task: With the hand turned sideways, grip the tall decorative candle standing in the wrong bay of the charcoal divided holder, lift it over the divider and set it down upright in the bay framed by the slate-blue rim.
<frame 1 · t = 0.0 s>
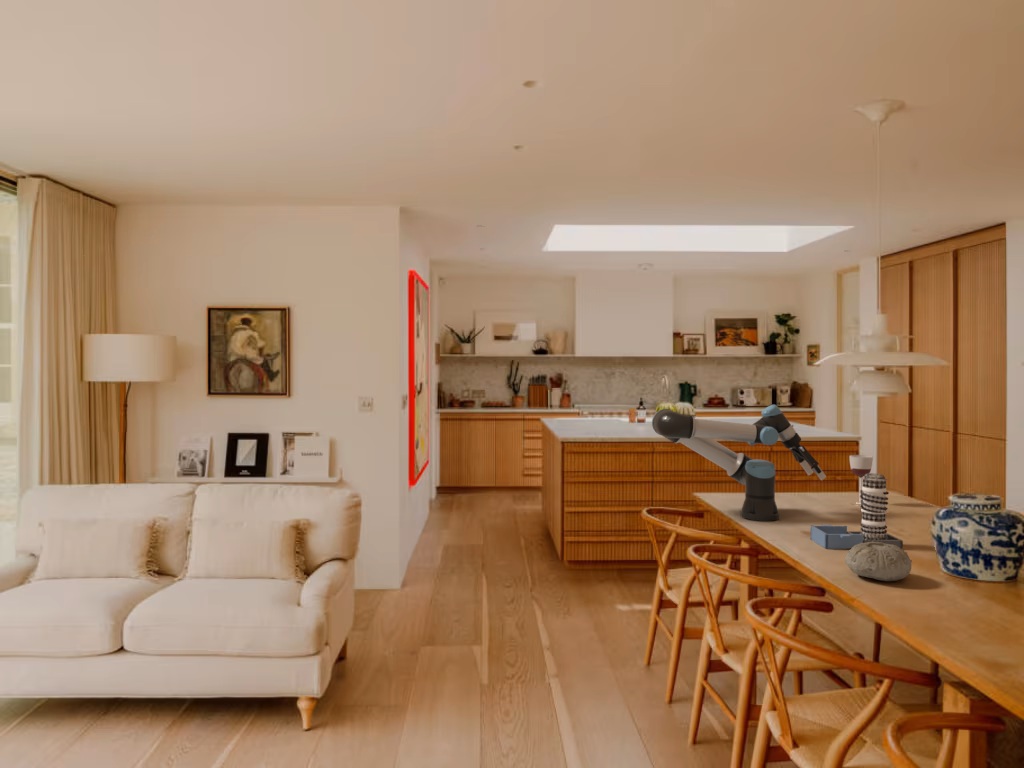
hand: (817, 476, 314), 15 cm above the table, tool tilted 35°, fingers open, 13 cm apart
charcoal holder: (855, 544, 257), on the table
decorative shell: (877, 578, 218), on the table
wineglass: (860, 504, 330), on the table
blue rim: (855, 544, 257), on the table
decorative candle: (873, 544, 257), on the table
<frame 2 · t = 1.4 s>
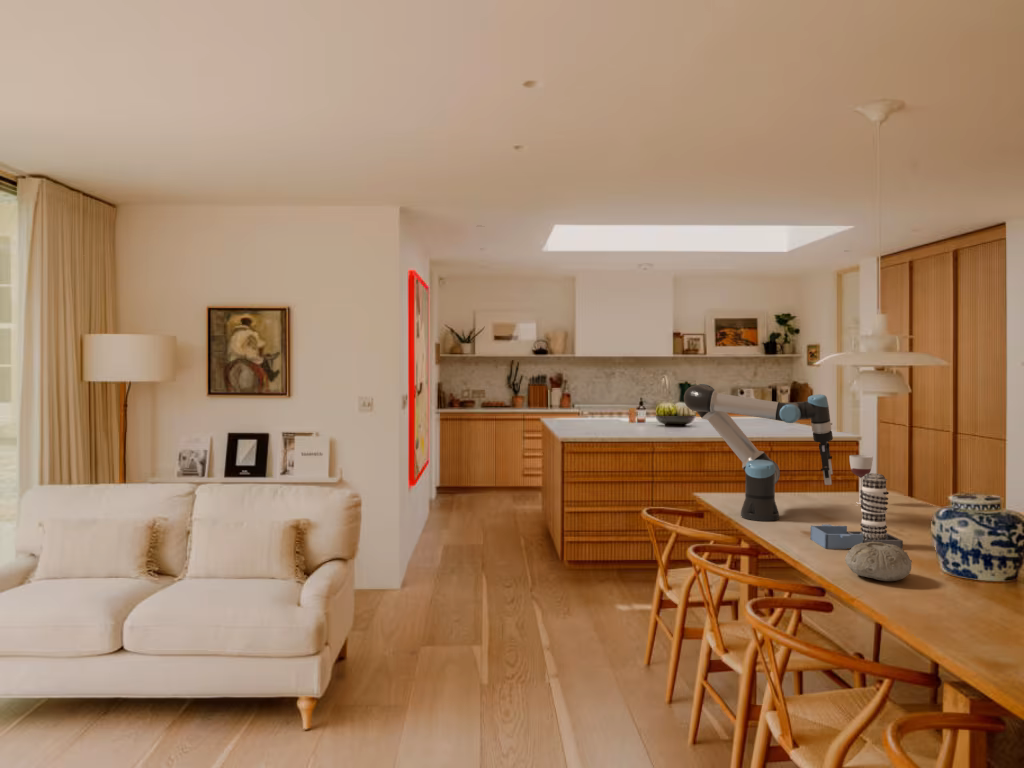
hand: (828, 479, 307), 15 cm above the table, tool pointing down, fingers open, 13 cm apart
nothing on the table moved.
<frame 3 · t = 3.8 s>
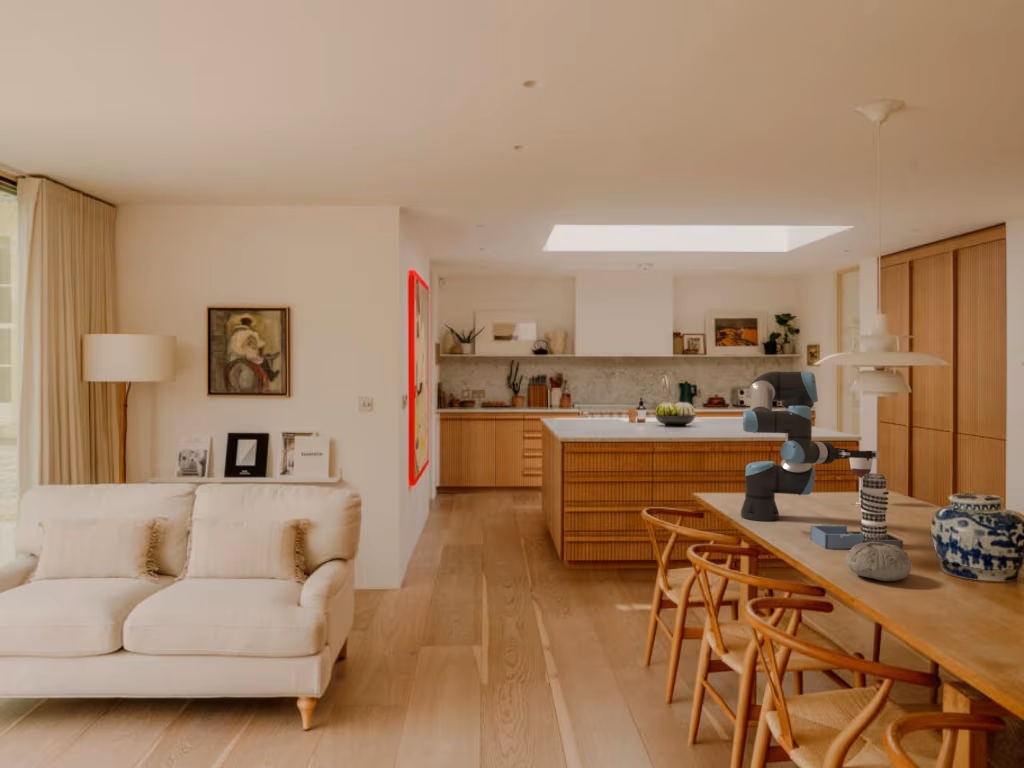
hand: (861, 454, 258), 32 cm above the table, tool horizontal, fingers open, 13 cm apart
nothing on the table moved.
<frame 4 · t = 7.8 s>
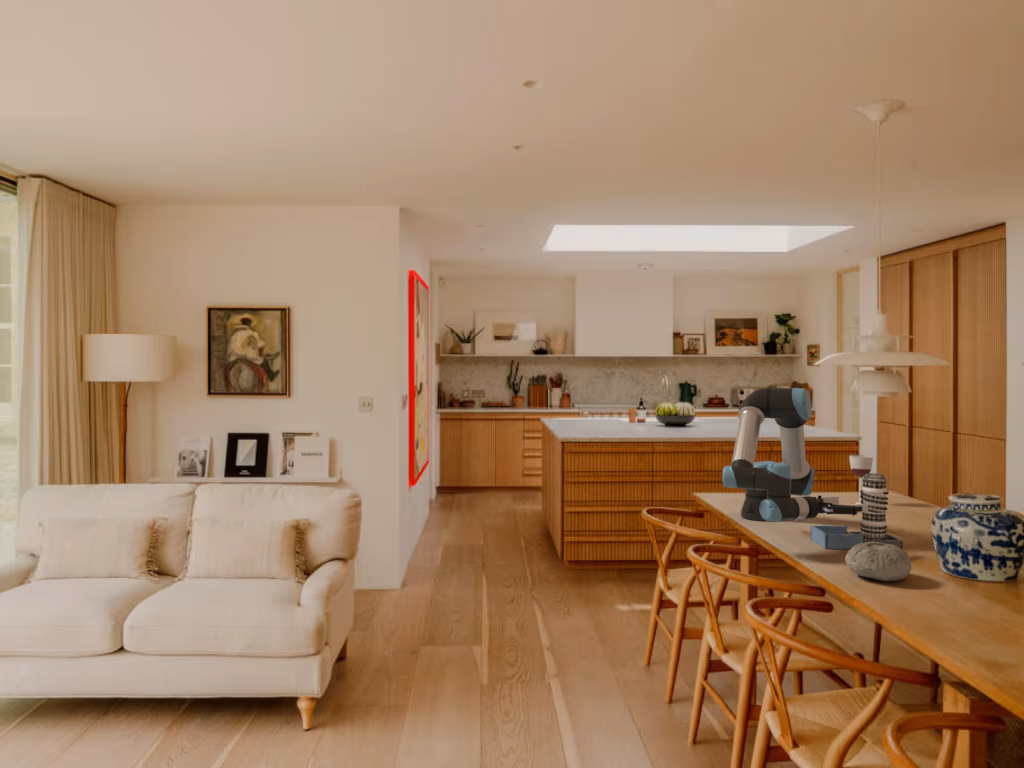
hand: (852, 504, 254), 15 cm above the table, tool horizontal, fingers open, 13 cm apart
nothing on the table moved.
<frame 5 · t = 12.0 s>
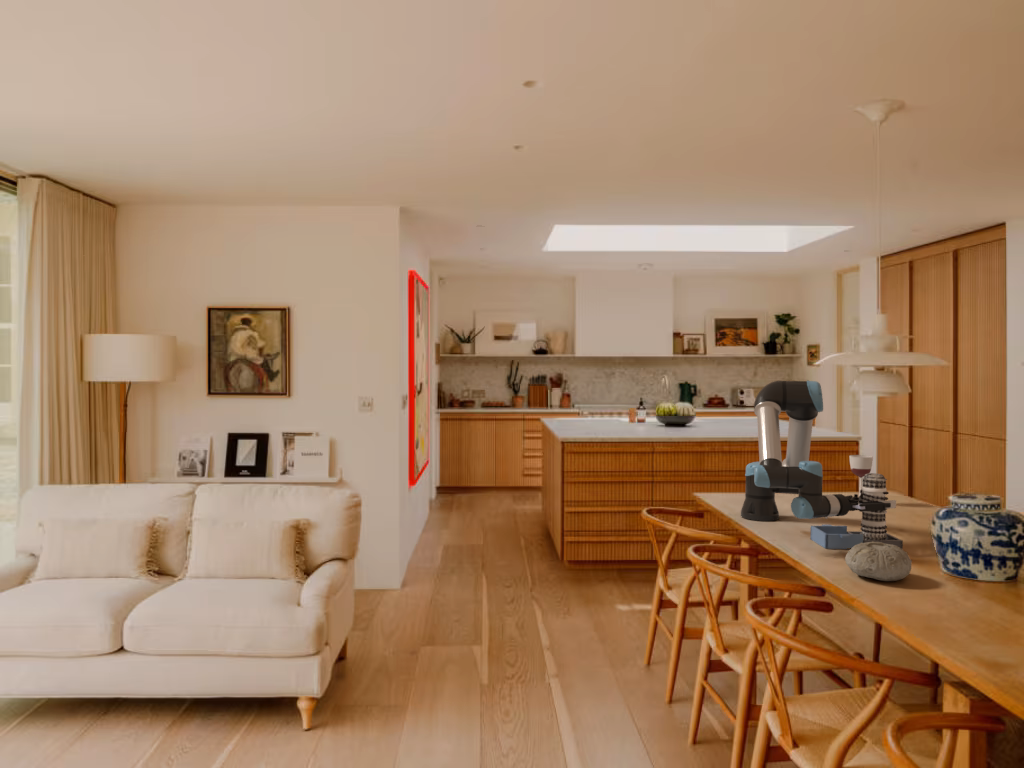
hand: (884, 501, 258), 15 cm above the table, tool horizontal, fingers closed on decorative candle, 9 cm apart
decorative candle: (873, 544, 257), on the table, touching gripper
everything else where it was.
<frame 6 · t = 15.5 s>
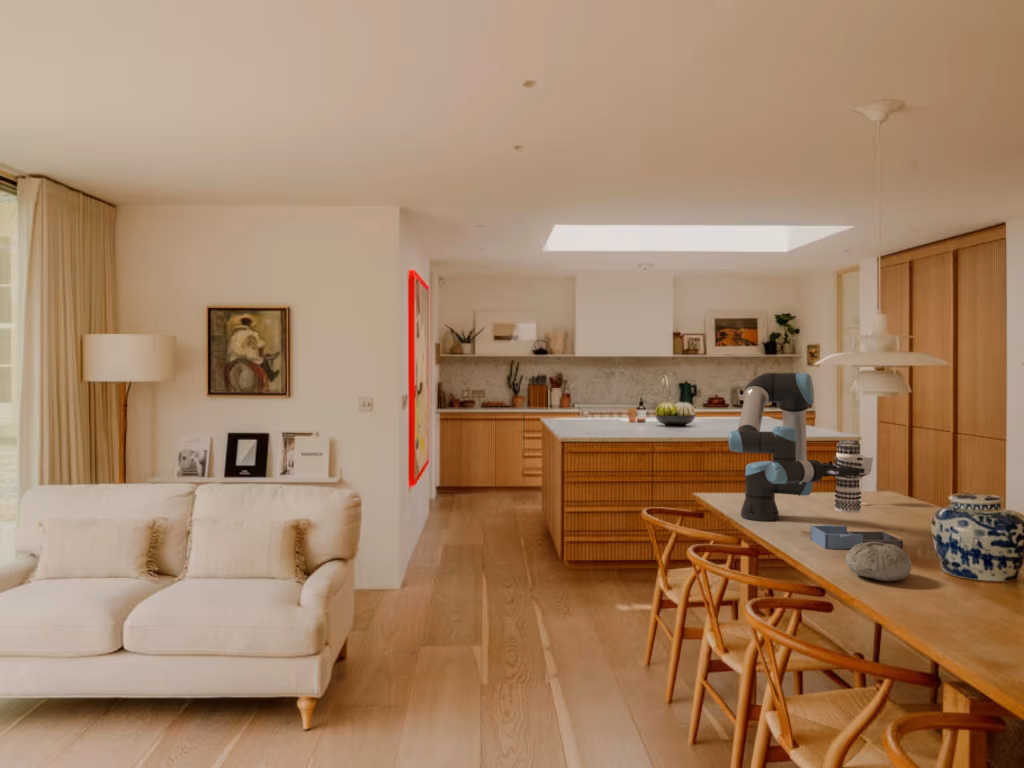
hand: (858, 468, 258), 27 cm above the table, tool horizontal, fingers closed on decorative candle, 9 cm apart
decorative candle: (847, 511, 257), point 12 cm above the table, touching gripper
everything else where it was.
when the fingers open (16 cm above the table, at t = 19.4 s): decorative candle drops 1 cm, on the table.
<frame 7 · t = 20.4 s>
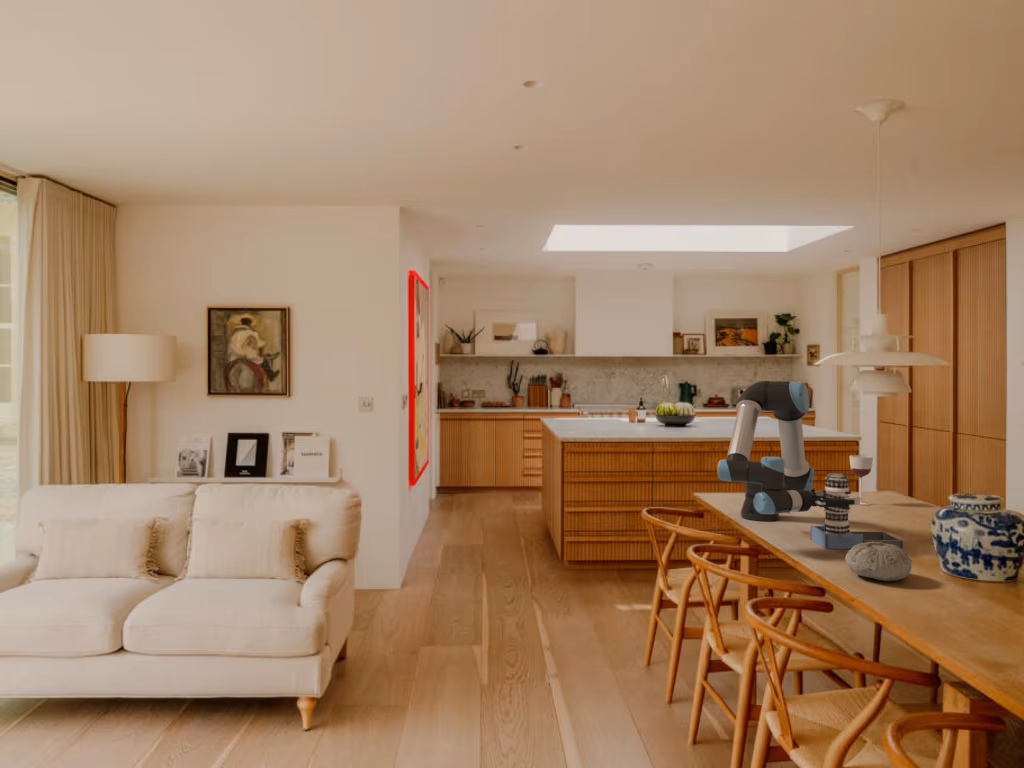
hand: (844, 497, 258), 17 cm above the table, tool horizontal, fingers open, 13 cm apart
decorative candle: (836, 544, 257), on the table
everything else where it was.
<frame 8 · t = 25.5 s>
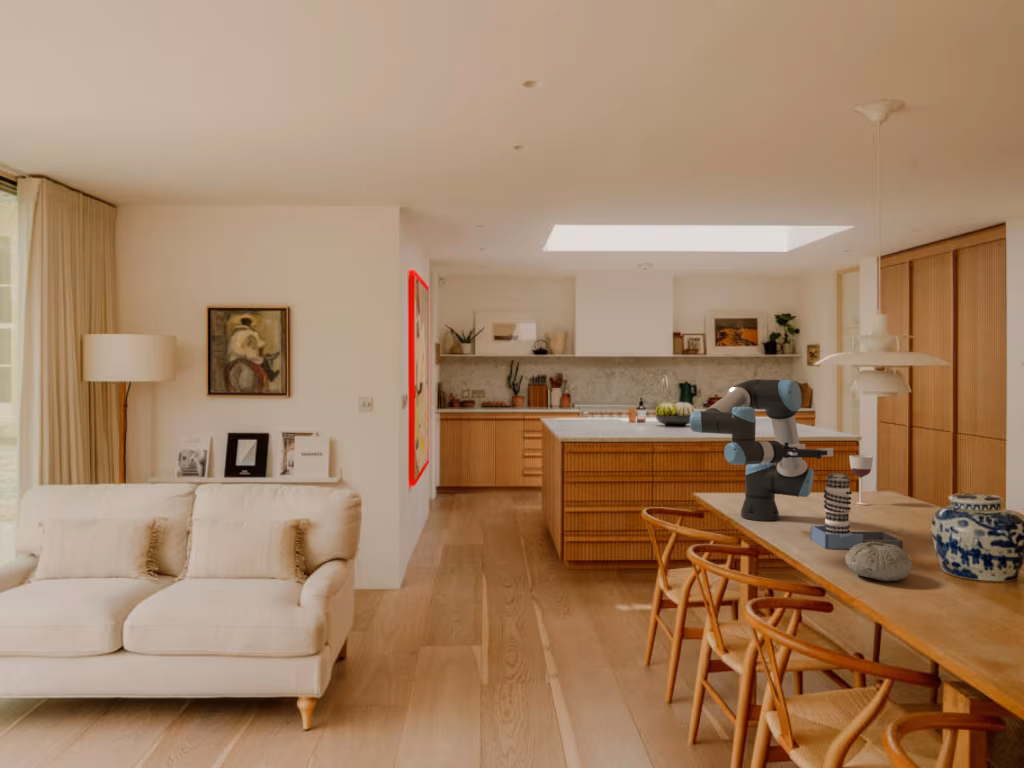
hand: (818, 449, 254), 34 cm above the table, tool horizontal, fingers open, 13 cm apart
nothing on the table moved.
at the end: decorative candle inside the target area on the blue rim (0.1 cm from its centre), point 0.0 cm above the blue rim's base; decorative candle tilted 0°; the gripper is holding nothing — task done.
